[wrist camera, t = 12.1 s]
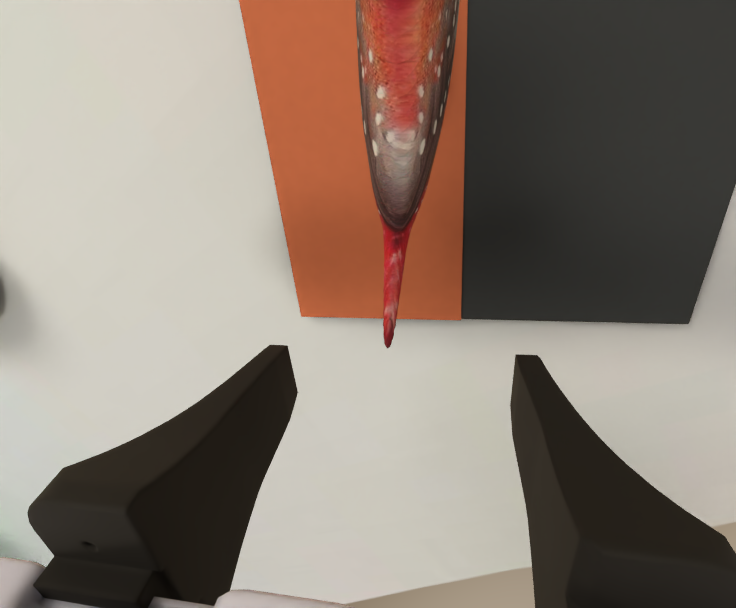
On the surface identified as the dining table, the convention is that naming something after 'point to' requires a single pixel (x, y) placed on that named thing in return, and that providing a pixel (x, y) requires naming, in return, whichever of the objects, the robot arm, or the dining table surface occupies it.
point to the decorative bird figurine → (402, 115)
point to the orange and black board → (513, 160)
